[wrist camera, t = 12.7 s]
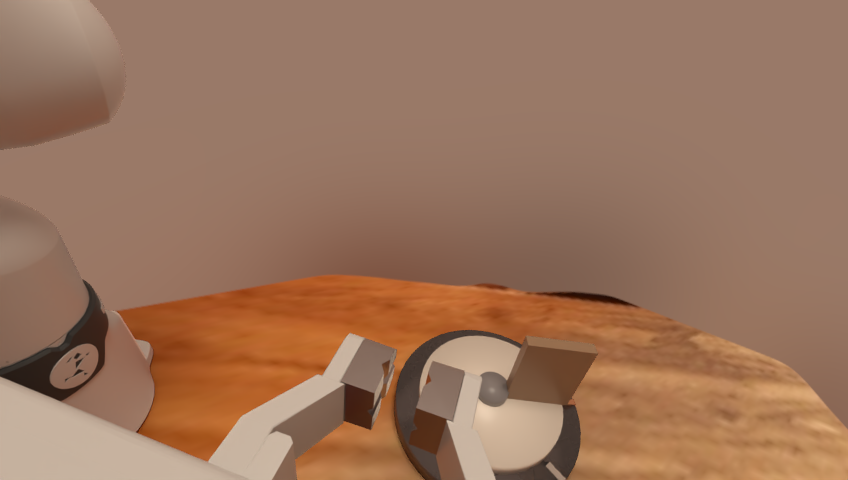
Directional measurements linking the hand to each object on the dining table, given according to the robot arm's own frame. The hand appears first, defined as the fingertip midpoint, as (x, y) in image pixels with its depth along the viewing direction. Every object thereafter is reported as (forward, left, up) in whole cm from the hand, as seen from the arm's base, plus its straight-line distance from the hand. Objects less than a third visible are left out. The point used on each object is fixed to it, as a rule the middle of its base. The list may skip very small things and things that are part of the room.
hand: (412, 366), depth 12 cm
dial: (+6, +21, -30) cm, 37 cm away
